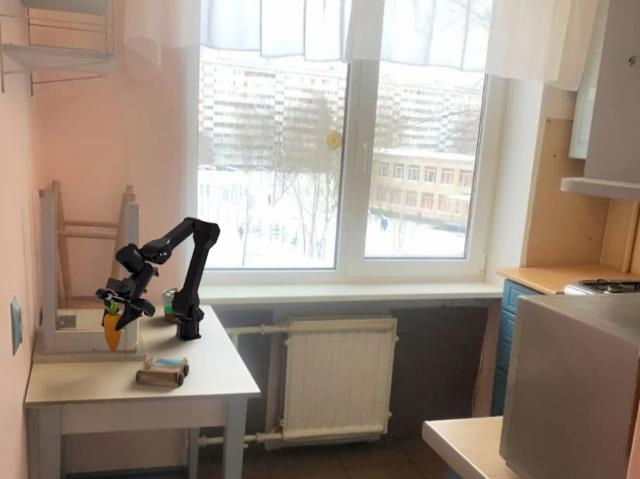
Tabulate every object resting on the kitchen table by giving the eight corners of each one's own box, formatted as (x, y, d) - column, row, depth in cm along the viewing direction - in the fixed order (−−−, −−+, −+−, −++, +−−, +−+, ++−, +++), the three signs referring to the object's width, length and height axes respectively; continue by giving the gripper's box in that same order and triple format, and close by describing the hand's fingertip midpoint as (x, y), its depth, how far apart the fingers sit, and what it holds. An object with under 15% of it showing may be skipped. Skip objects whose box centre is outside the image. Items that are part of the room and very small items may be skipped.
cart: (152, 359, 178) (152, 346, 177) (194, 362, 178) (194, 349, 177) (134, 384, 162) (134, 370, 161) (180, 387, 162) (181, 373, 161)
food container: (159, 313, 217) (159, 287, 215) (176, 313, 219) (177, 286, 217) (162, 325, 206) (163, 298, 203) (181, 324, 208) (181, 297, 206)
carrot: (116, 356, 165) (116, 305, 162) (100, 354, 166) (99, 303, 163) (126, 350, 170) (125, 300, 167) (110, 347, 171) (109, 298, 167)
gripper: (98, 260, 170) (68, 307, 163) (148, 272, 162) (117, 322, 155) (120, 280, 179) (91, 326, 172) (167, 292, 170) (140, 341, 163)
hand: (109, 328), depth 165 cm, fingers closed on carrot, 5 cm apart
